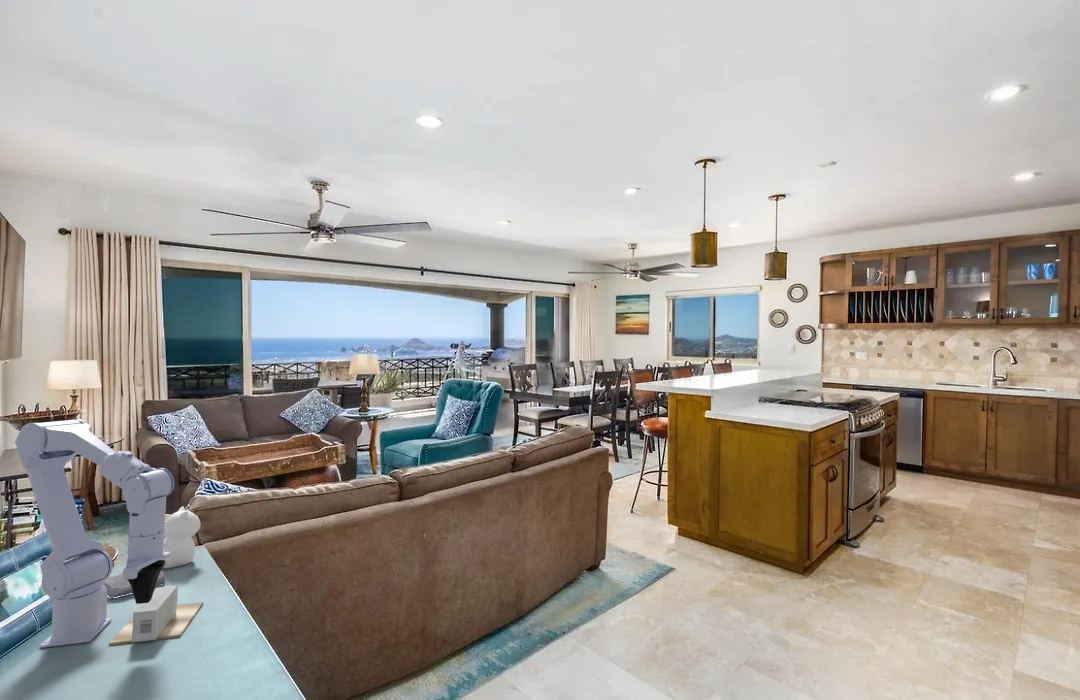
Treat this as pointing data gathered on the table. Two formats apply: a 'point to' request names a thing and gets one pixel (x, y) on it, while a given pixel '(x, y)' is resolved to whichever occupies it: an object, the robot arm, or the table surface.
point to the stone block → (124, 585)
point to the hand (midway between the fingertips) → (143, 601)
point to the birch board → (172, 628)
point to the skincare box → (154, 614)
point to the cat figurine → (180, 538)
